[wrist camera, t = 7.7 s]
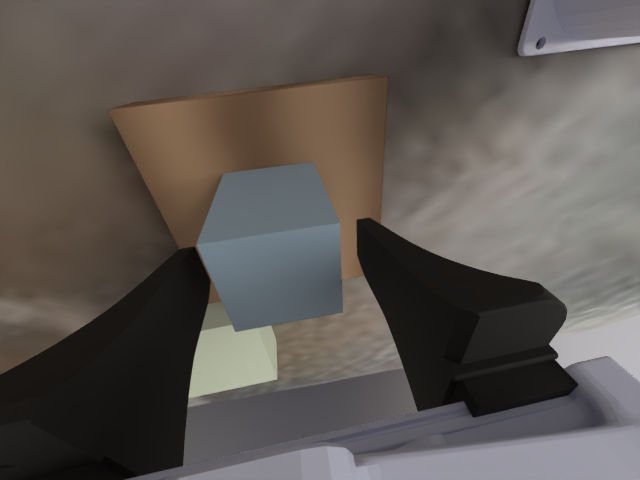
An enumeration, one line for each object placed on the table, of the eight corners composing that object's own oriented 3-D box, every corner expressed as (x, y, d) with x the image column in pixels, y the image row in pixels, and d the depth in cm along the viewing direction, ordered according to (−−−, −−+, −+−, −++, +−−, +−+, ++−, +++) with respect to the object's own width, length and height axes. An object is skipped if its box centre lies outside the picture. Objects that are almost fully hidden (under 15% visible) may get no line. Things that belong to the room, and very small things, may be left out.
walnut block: (367, 74, 14) (388, 76, 12) (364, 248, 21) (377, 273, 18) (138, 101, 13) (108, 110, 11) (215, 274, 20) (207, 304, 17)
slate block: (313, 161, 13) (339, 222, 8) (319, 234, 16) (342, 312, 11) (223, 173, 13) (196, 244, 8) (245, 245, 15) (235, 332, 10)
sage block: (256, 279, 21) (254, 320, 17) (276, 338, 25) (277, 379, 22) (153, 298, 20) (131, 344, 17) (193, 355, 25) (181, 399, 21)
